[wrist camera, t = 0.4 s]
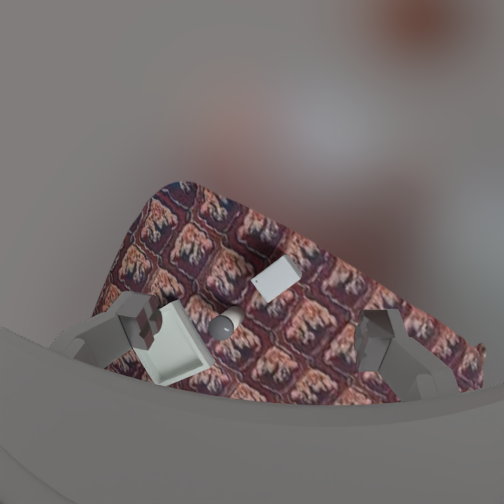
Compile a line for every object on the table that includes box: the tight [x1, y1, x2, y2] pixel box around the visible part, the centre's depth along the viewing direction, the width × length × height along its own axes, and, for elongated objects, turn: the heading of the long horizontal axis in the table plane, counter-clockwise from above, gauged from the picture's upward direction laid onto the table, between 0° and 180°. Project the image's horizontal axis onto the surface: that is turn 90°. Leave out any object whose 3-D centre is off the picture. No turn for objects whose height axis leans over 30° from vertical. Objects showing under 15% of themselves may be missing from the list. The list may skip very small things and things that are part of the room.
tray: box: [133, 299, 215, 386], centre depth 66 cm, size 18×18×4 cm
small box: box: [251, 254, 302, 303], centre depth 57 cm, size 8×6×10 cm
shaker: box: [208, 306, 245, 340], centre depth 59 cm, size 5×5×12 cm
